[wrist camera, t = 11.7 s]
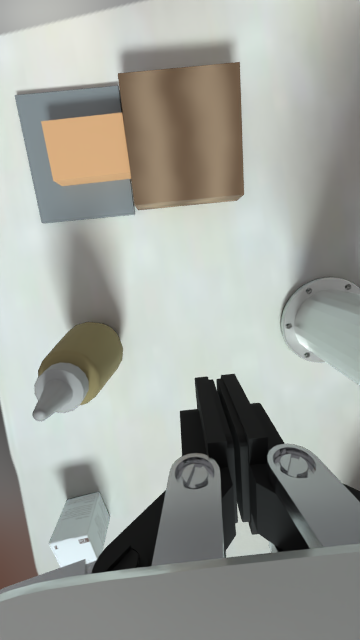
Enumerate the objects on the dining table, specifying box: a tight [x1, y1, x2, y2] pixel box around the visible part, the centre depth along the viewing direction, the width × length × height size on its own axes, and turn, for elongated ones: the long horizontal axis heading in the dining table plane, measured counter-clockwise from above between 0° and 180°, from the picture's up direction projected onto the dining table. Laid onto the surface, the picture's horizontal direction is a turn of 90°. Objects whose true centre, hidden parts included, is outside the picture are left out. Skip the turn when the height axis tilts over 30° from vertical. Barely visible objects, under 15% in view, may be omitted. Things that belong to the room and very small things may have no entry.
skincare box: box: [49, 492, 110, 568], centre depth 42 cm, size 6×6×7 cm
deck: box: [118, 62, 244, 210], centre depth 31 cm, size 13×13×4 cm
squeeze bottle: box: [33, 322, 123, 421], centre depth 30 cm, size 8×8×18 cm
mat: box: [15, 86, 135, 223], centre depth 32 cm, size 12×14×1 cm
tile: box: [41, 113, 131, 186], centre depth 31 cm, size 9×6×2 cm, turn 96°
